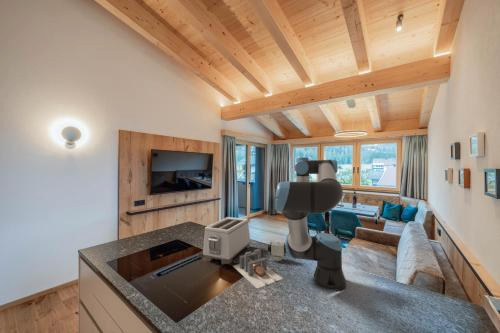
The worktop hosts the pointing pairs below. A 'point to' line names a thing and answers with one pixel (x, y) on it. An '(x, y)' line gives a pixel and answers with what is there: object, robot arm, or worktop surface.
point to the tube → (257, 268)
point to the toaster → (226, 239)
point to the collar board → (252, 275)
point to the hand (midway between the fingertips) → (303, 222)
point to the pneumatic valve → (277, 250)
